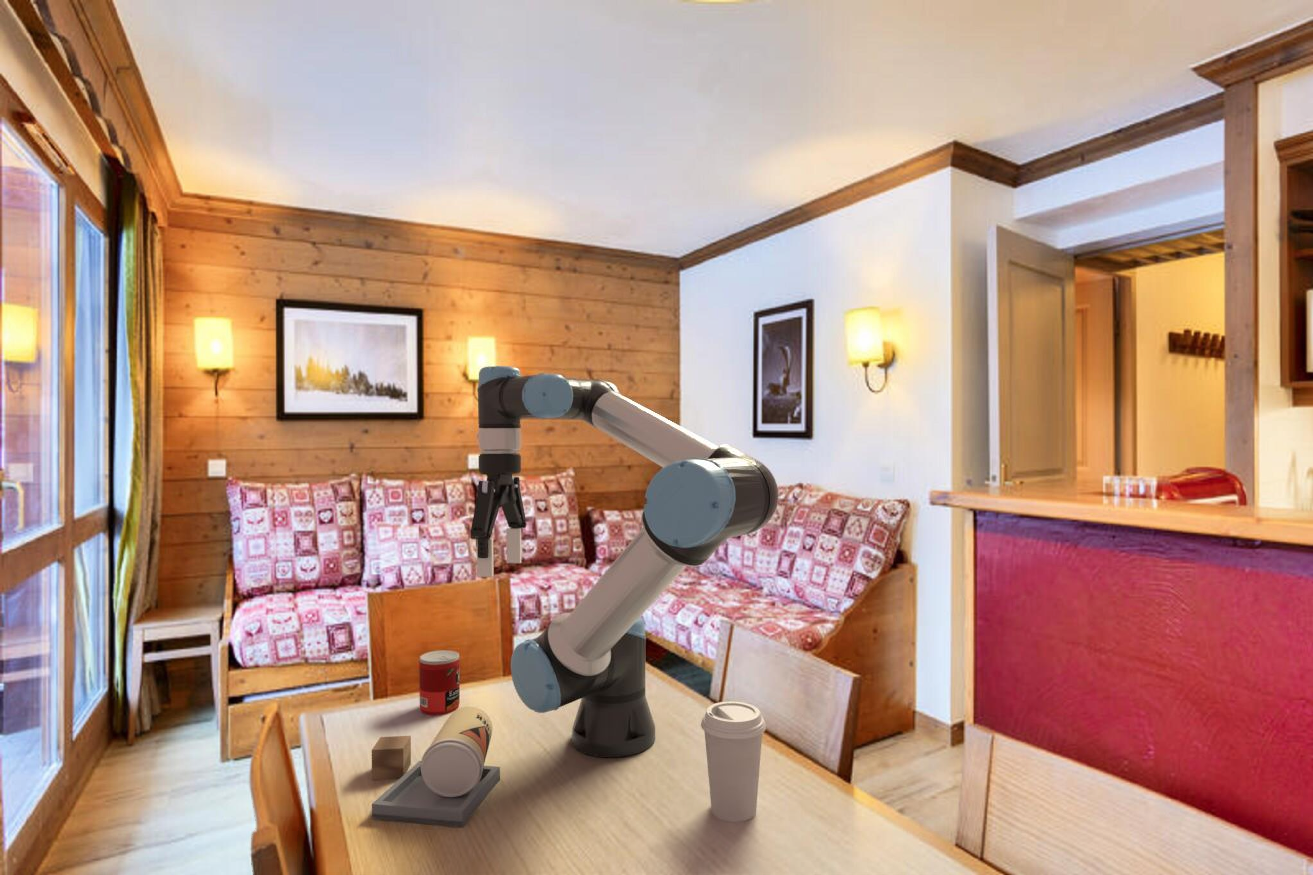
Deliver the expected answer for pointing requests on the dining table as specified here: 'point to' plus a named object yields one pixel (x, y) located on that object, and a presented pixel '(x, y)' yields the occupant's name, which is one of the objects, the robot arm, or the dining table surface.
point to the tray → (431, 800)
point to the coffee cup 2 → (733, 758)
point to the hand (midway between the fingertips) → (500, 569)
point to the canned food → (439, 682)
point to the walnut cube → (391, 757)
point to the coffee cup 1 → (458, 753)
